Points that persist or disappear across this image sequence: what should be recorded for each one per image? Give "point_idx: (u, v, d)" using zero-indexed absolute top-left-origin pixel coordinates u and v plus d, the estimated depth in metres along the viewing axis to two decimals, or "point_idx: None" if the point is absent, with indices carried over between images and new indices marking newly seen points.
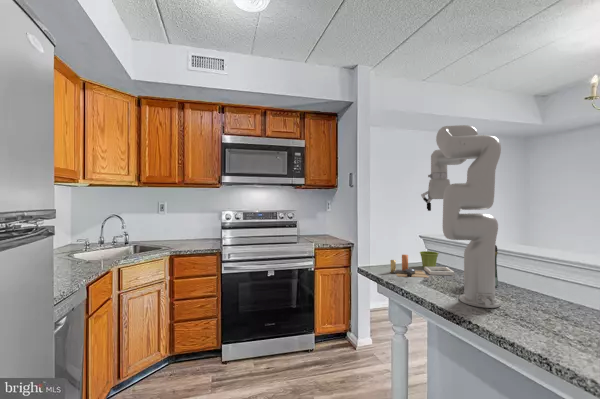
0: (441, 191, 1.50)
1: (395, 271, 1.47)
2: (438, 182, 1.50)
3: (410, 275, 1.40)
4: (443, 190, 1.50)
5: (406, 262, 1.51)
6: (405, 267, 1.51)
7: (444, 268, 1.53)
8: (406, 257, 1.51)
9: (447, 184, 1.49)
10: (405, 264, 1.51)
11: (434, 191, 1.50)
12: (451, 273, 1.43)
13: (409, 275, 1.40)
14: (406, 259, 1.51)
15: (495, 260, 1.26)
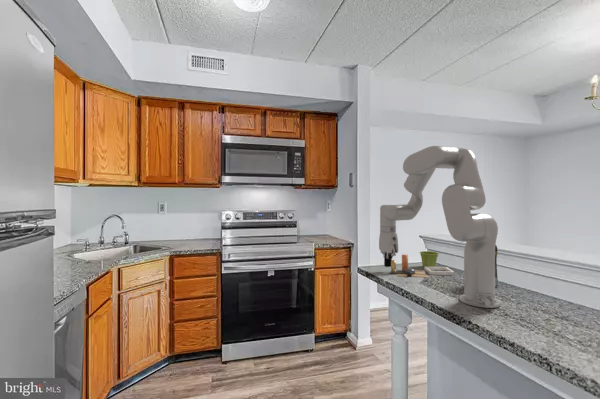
0: None
1: (395, 271, 1.46)
2: None
3: (410, 275, 1.40)
4: None
5: (406, 262, 1.51)
6: (405, 267, 1.51)
7: (444, 268, 1.53)
8: (406, 257, 1.51)
9: None
10: (405, 264, 1.51)
11: None
12: (451, 273, 1.43)
13: (409, 275, 1.40)
14: (406, 259, 1.51)
15: (495, 260, 1.26)
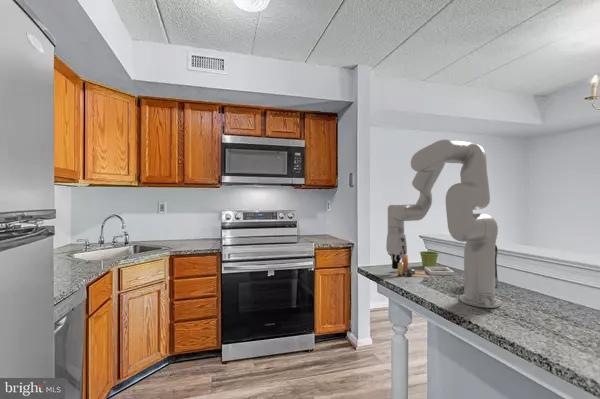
0: None
1: (403, 274, 1.41)
2: None
3: (410, 275, 1.40)
4: None
5: (406, 262, 1.51)
6: (405, 267, 1.51)
7: (444, 268, 1.53)
8: (406, 257, 1.51)
9: None
10: (405, 264, 1.51)
11: None
12: (451, 273, 1.43)
13: (409, 275, 1.40)
14: (406, 259, 1.51)
15: (495, 260, 1.26)
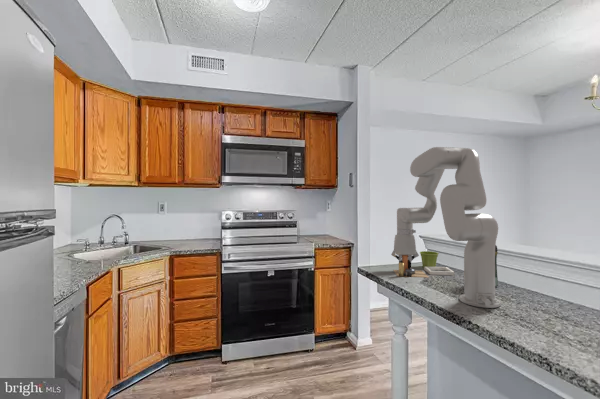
0: None
1: (404, 274, 1.41)
2: None
3: (410, 275, 1.40)
4: None
5: (406, 262, 1.51)
6: (405, 267, 1.51)
7: (444, 268, 1.53)
8: (406, 257, 1.51)
9: None
10: (405, 264, 1.51)
11: None
12: (451, 273, 1.43)
13: (409, 275, 1.40)
14: (406, 259, 1.51)
15: (495, 260, 1.26)
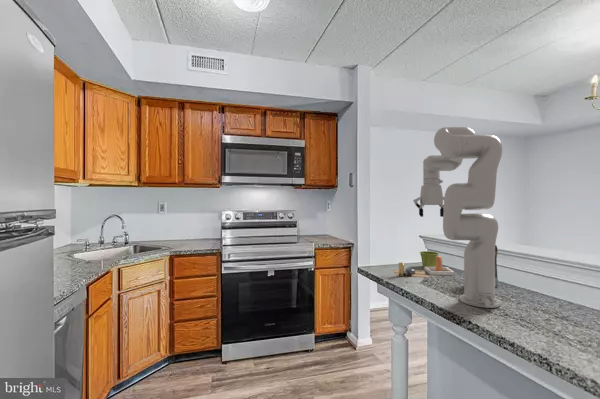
0: None
1: (404, 274, 1.41)
2: None
3: (410, 275, 1.40)
4: None
5: (440, 264, 1.48)
6: (439, 269, 1.48)
7: (444, 268, 1.53)
8: (440, 259, 1.48)
9: None
10: (440, 266, 1.48)
11: None
12: (451, 273, 1.43)
13: (409, 275, 1.40)
14: (440, 261, 1.48)
15: (495, 260, 1.26)
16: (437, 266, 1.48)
